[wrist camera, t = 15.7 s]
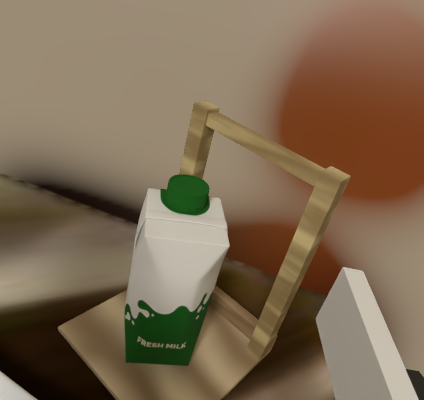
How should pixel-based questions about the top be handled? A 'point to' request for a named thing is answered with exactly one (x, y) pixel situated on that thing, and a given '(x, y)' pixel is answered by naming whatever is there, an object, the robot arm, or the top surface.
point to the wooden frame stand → (220, 302)
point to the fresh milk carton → (173, 271)
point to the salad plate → (12, 390)
